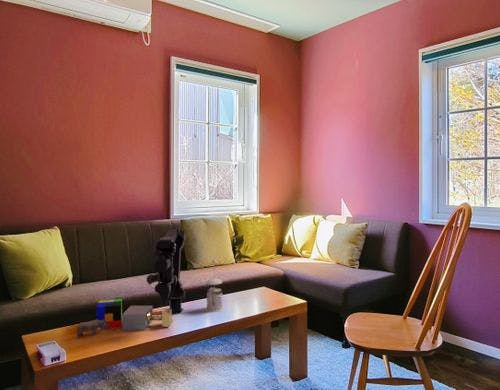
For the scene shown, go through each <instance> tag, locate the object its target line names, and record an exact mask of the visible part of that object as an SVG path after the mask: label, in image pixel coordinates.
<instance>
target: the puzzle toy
mask: <svg viewBox="0 0 500 390" xmlns="http://www.w3.org/2000/svg"><path fill="white" fill-rule="evenodd" d="M122 302H123V299H122V298H119V299H118V298H116V299H104V300H103V299H101V300H98V303H97V304H96V320H100V321H102V320H103V319H104V321H103V322H105V321H106V322H105V323H104V324H107V325H108V324H109V323H110V325H109V326H108V327H107V329H106V330H109V329H118V328H119V329H120V328H122V314H123V303H122ZM100 330H102V329H101V328H100V327H99V328H97V329H96V331H100Z"/></svg>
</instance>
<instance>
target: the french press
mask: <svg viewBox="0 0 500 390" xmlns="http://www.w3.org/2000/svg"><path fill="white" fill-rule="evenodd" d="M212 263H213V273H214V275H213V277H214V278H211V279H207V281H206V284H207V285H209V286H210V285H211V287H210V288H208V289H207V292H206V307H205V308H204V311H206V312H208V313H219V312H222V311H223V312H224V310H225V307H224V306H223V292H222V291H223V290H222V288H219V287H218V288H217V287H215V286H216V285H221V284H223V281H222V280H221V279H219V278H216V276H215V275H216V274H215V273H216V272H215V271H216V270H215V269H216V268H215V266H216V265H215V264H216V263H217V260H216V259H213V260H212ZM212 286H214V287H212Z"/></svg>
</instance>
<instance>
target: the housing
mask: <svg viewBox="0 0 500 390" xmlns="http://www.w3.org/2000/svg"><path fill="white" fill-rule="evenodd" d="M148 313H151V315H154V313H153V305H130V306H129V307H128V308H127V309H126V310H125V311H124V312H122V324H121V328H122V331H146V330H147V329H148V327H149V326H150V325H151V324H152V322H153V321H154V320H151V322H148Z"/></svg>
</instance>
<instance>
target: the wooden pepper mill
mask: <svg viewBox="0 0 500 390" xmlns="http://www.w3.org/2000/svg"><path fill="white" fill-rule="evenodd" d="M172 314H173V313H172V309H170V308H164V310H163V311H162V313H161V314H153V315H151V313H148V322H151V320H153V321H161V327H163V328H164V327H166V328H167V327H170V326H171V324H172V323H173V320H172V319H173V316H172ZM151 323H152V322H151Z"/></svg>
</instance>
